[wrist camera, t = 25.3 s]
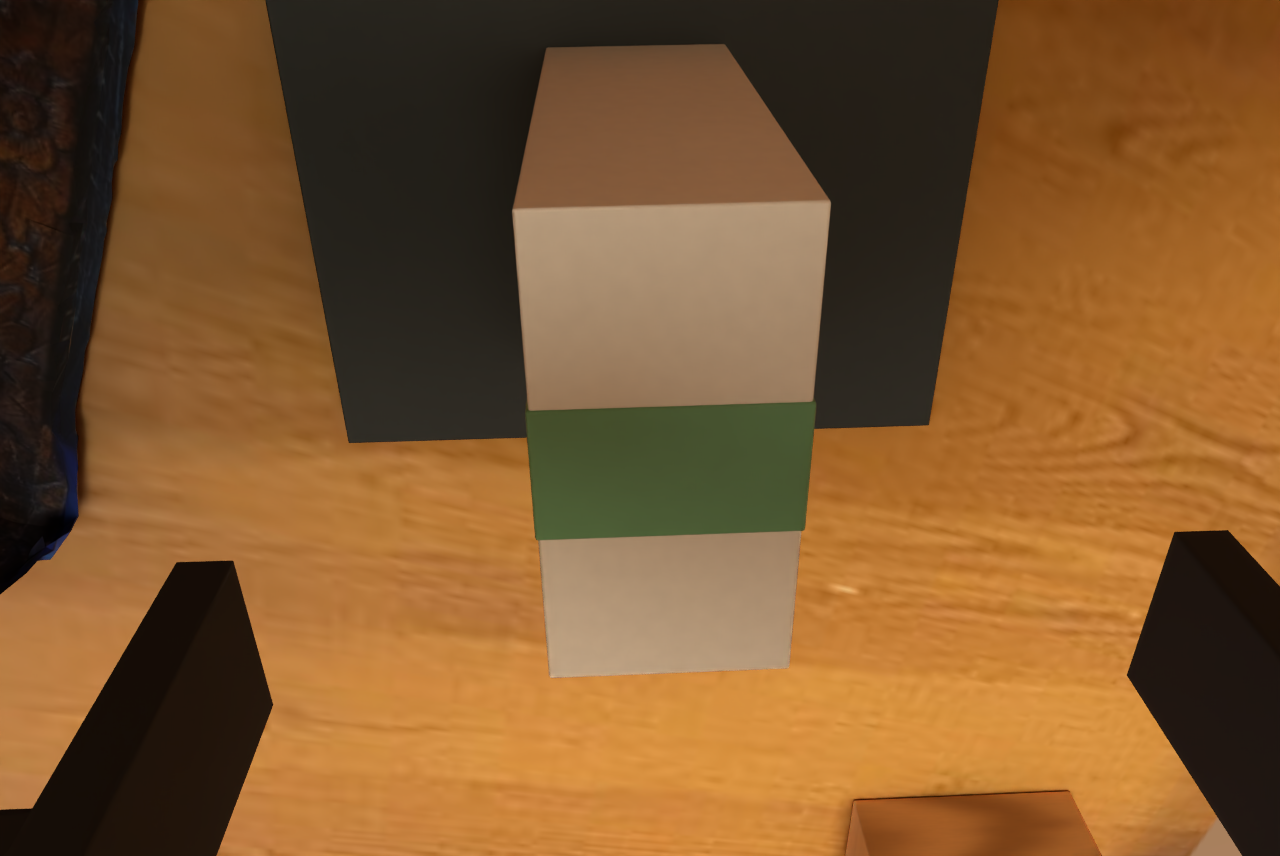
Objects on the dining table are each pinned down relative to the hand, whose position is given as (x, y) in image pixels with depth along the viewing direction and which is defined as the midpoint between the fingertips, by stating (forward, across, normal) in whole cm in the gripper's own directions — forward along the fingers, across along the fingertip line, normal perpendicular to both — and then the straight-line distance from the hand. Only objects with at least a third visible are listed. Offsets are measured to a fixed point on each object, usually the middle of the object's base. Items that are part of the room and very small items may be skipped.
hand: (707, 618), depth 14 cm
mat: (+19, 0, 0) cm, 19 cm away
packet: (+11, 0, 0) cm, 11 cm away
